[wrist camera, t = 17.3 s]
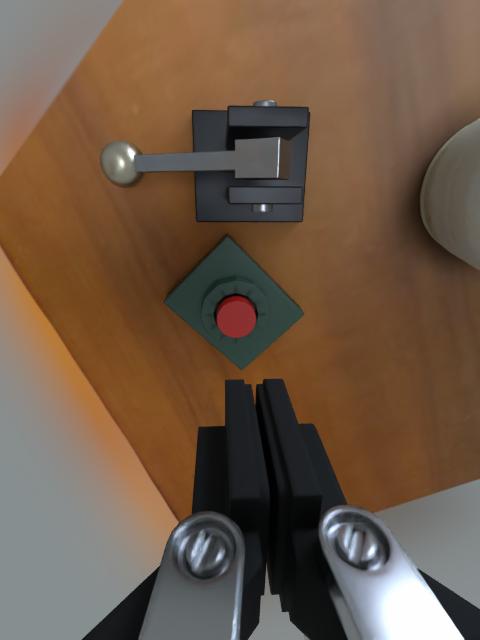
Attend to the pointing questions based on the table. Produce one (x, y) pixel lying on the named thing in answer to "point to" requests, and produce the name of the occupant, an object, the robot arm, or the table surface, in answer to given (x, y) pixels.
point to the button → (236, 316)
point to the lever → (199, 161)
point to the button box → (233, 280)
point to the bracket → (250, 195)
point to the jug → (455, 195)
